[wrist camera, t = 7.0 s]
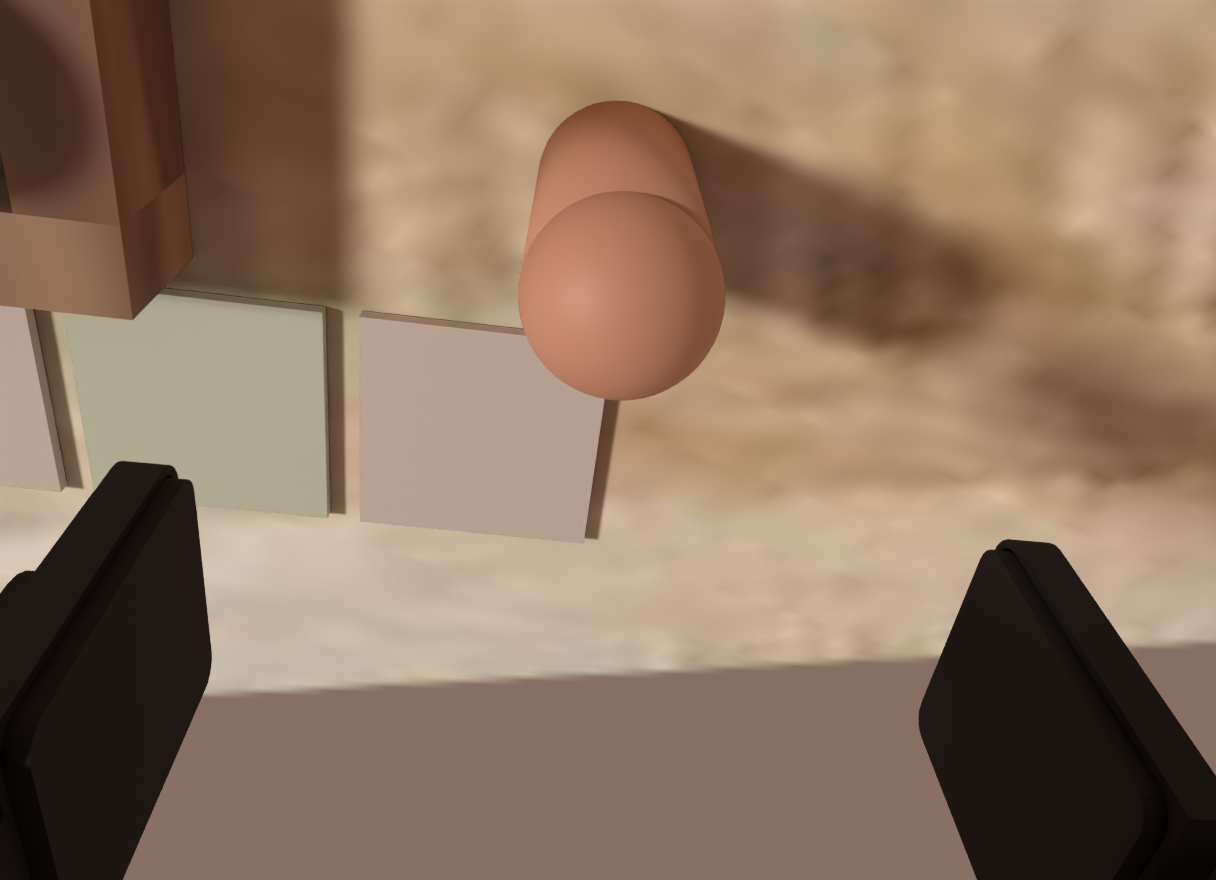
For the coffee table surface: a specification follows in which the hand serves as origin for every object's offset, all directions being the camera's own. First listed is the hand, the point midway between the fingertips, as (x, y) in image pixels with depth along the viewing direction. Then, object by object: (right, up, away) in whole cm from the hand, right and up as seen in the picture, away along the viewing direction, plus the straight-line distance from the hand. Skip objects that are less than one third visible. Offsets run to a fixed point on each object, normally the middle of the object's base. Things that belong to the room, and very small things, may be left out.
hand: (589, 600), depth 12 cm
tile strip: (-12, +3, +17) cm, 21 cm away
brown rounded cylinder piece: (0, +9, +14) cm, 16 cm away
